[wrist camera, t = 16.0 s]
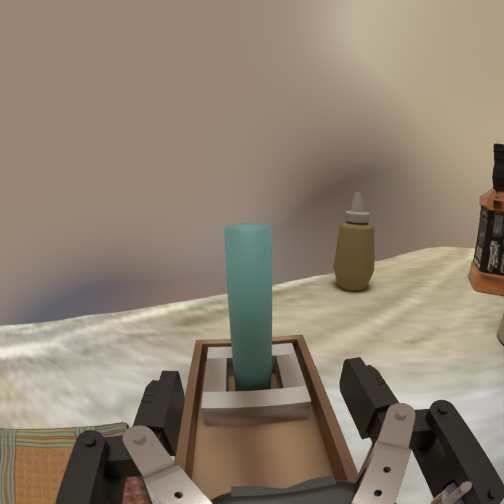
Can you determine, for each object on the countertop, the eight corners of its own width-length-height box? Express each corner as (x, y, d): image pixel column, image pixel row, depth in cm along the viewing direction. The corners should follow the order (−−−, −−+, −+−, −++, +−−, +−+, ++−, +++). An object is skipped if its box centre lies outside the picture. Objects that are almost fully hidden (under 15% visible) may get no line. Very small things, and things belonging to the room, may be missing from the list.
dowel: (269, 378, 26) (268, 222, 22) (273, 401, 23) (274, 230, 19) (235, 380, 26) (225, 224, 22) (235, 403, 23) (223, 232, 18)
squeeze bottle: (323, 283, 53) (327, 190, 48) (352, 275, 56) (357, 191, 51) (351, 298, 46) (358, 194, 41) (379, 288, 49) (388, 194, 44)
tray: (300, 356, 31) (302, 334, 30) (351, 505, 12) (364, 489, 11) (199, 362, 30) (196, 339, 29) (180, 519, 11) (168, 506, 10)
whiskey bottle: (508, 296, 37) (524, 146, 29) (474, 291, 43) (487, 137, 34) (498, 281, 45) (510, 150, 37) (467, 275, 51) (477, 144, 42)
